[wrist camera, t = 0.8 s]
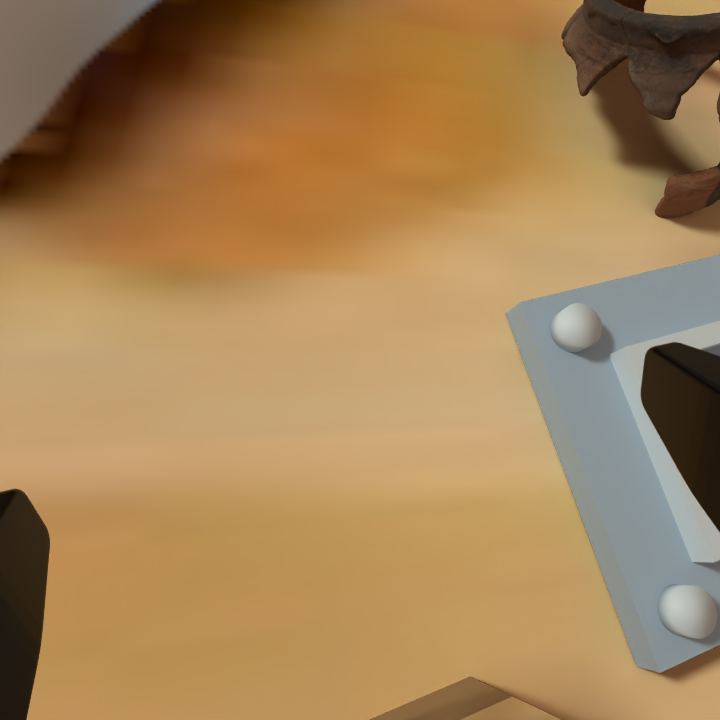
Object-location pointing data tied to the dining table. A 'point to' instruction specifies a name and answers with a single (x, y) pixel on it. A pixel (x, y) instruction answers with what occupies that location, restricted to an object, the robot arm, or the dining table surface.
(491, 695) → the block
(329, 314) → the dining table surface
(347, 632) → the dining table surface
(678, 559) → the board
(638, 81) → the pottery mug
